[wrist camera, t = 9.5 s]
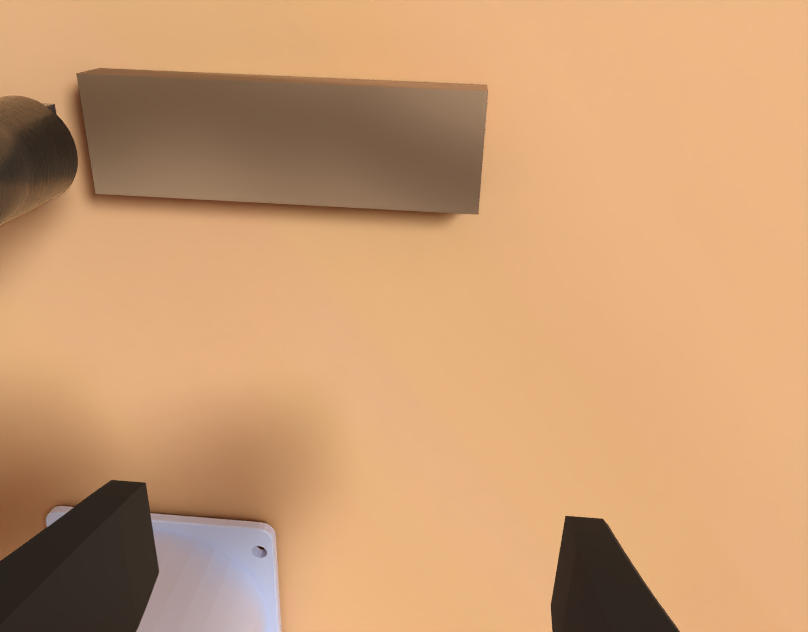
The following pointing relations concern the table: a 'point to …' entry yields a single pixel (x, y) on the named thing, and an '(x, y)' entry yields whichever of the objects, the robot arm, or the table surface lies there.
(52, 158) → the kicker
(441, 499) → the table surface
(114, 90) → the rail
